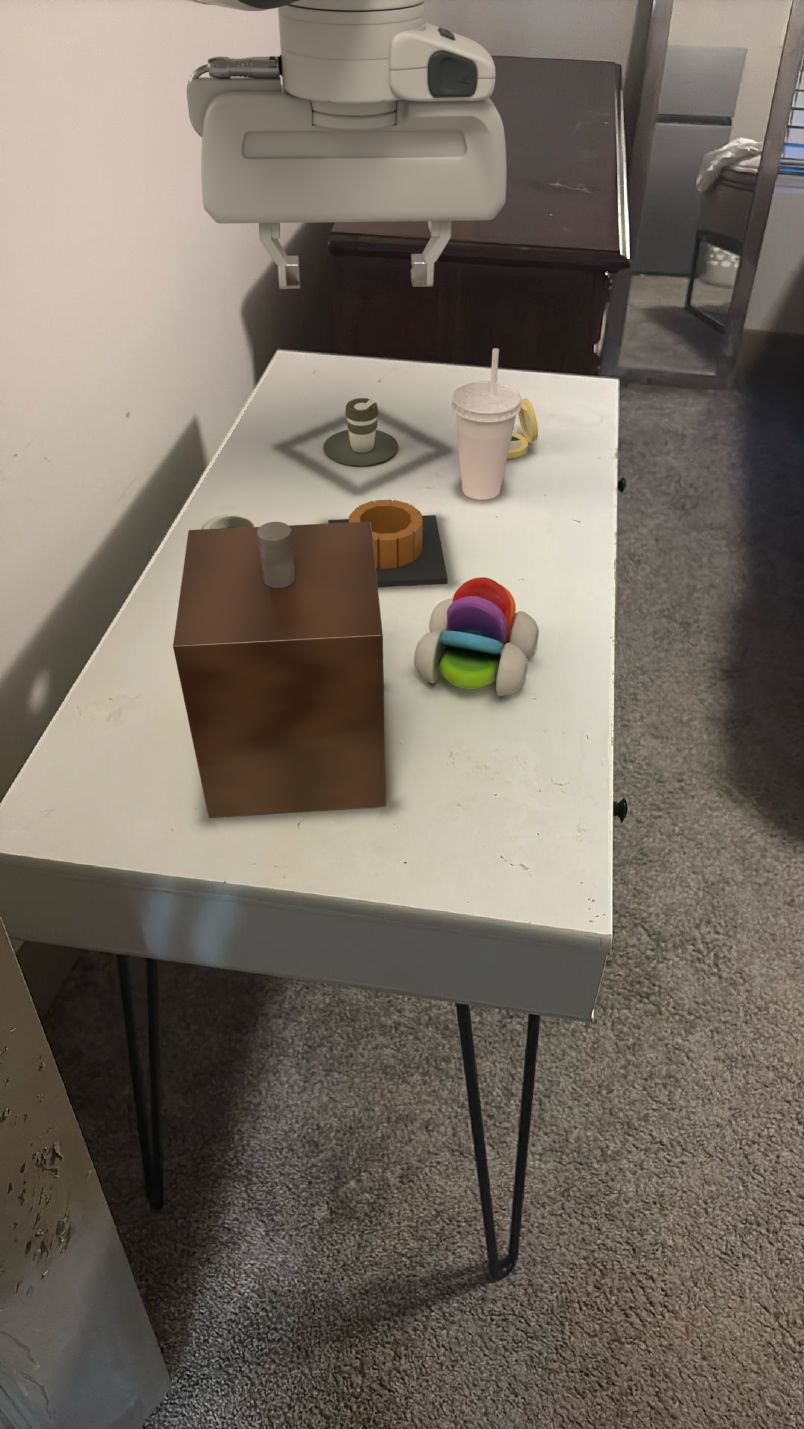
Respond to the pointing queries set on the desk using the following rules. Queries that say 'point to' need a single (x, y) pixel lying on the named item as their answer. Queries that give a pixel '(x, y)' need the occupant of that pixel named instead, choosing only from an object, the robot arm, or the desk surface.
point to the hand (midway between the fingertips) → (356, 285)
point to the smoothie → (484, 432)
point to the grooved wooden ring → (392, 531)
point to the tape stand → (283, 667)
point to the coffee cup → (361, 437)
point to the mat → (417, 561)
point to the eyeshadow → (524, 430)
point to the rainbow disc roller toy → (478, 639)
